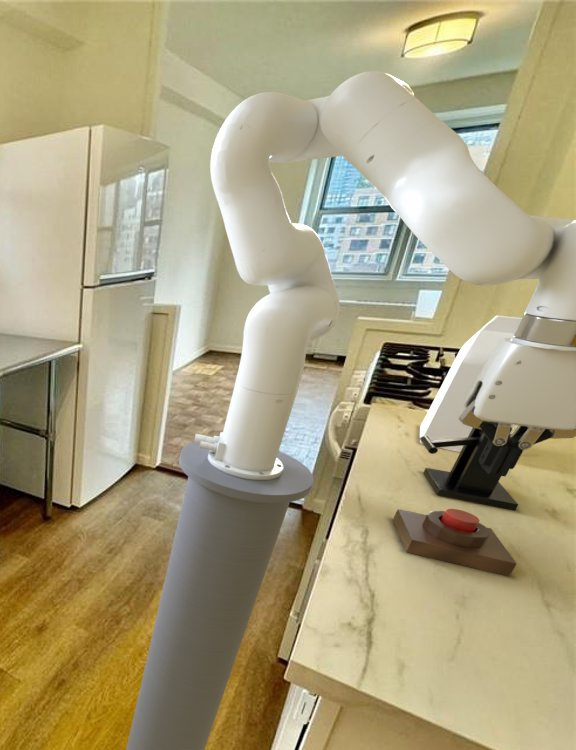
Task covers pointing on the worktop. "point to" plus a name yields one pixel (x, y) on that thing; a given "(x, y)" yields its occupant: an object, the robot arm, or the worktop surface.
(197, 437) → the robot arm
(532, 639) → the worktop surface
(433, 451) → the lever
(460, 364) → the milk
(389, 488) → the worktop surface
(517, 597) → the worktop surface
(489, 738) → the worktop surface
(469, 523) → the button
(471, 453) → the bracket
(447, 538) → the button box
